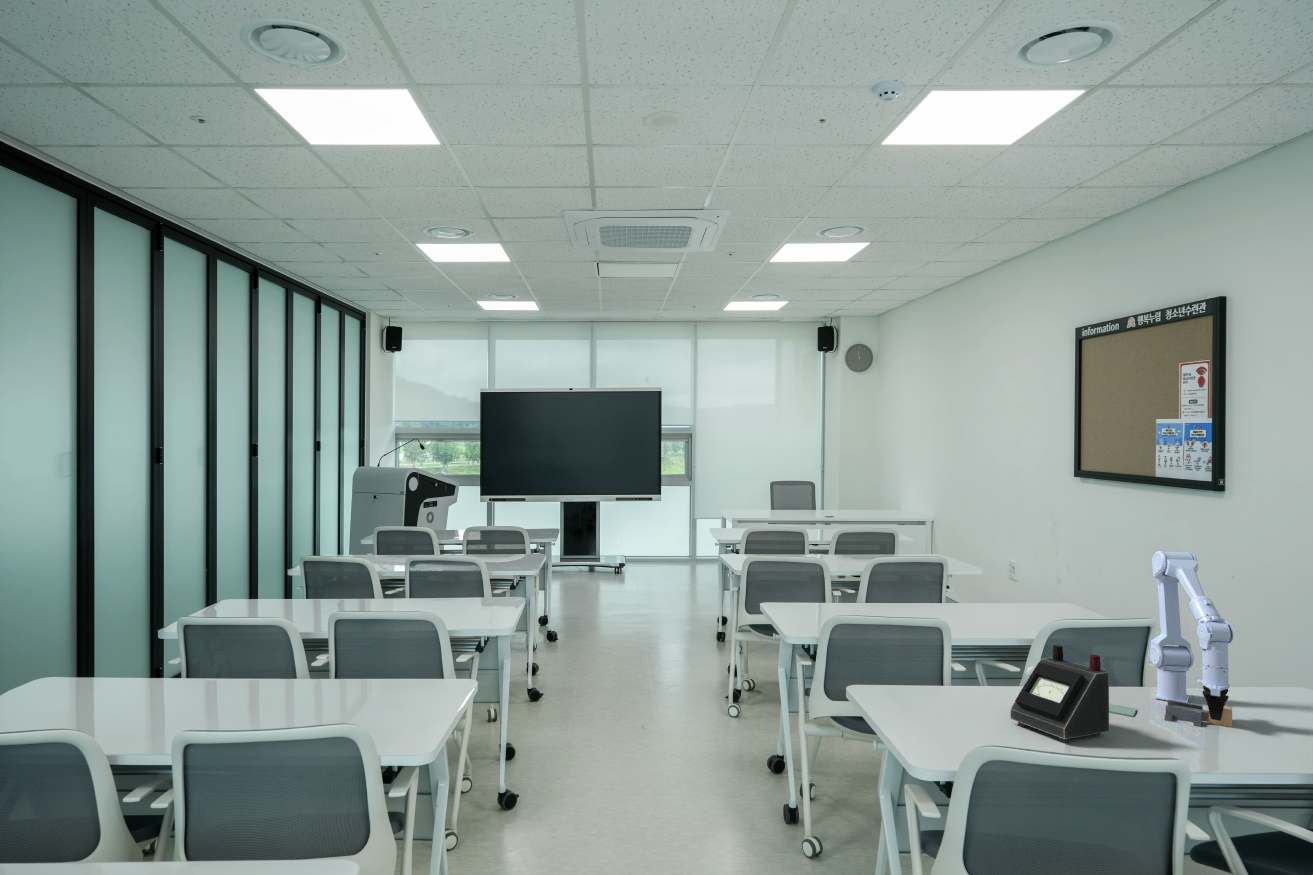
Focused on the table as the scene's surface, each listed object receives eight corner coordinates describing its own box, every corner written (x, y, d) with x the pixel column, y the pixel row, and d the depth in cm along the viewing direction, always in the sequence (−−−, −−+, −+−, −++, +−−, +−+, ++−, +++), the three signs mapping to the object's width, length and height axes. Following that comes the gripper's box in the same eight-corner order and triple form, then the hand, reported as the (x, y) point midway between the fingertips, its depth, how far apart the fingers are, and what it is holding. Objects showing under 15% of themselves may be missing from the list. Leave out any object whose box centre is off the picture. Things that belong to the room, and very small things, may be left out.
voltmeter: (1009, 724, 200) (1009, 647, 201) (1053, 717, 206) (1053, 643, 207) (1063, 745, 185) (1063, 662, 186) (1109, 736, 192) (1108, 657, 192)
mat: (1104, 703, 219) (1104, 702, 219) (1136, 709, 214) (1136, 708, 214) (1099, 710, 213) (1099, 709, 213) (1133, 716, 208) (1133, 715, 208)
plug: (1174, 712, 212) (1174, 696, 212) (1232, 723, 204) (1232, 706, 204) (1173, 716, 209) (1172, 699, 209) (1232, 727, 201) (1231, 709, 201)
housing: (1168, 707, 217) (1168, 696, 217) (1203, 712, 212) (1203, 702, 212) (1164, 719, 205) (1164, 708, 206) (1200, 726, 201) (1200, 715, 201)
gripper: (1197, 658, 213) (1198, 707, 213) (1196, 668, 202) (1197, 720, 201) (1228, 662, 209) (1229, 712, 209) (1229, 673, 197) (1230, 726, 197)
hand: (1215, 716), depth 205 cm, fingers open, 5 cm apart
